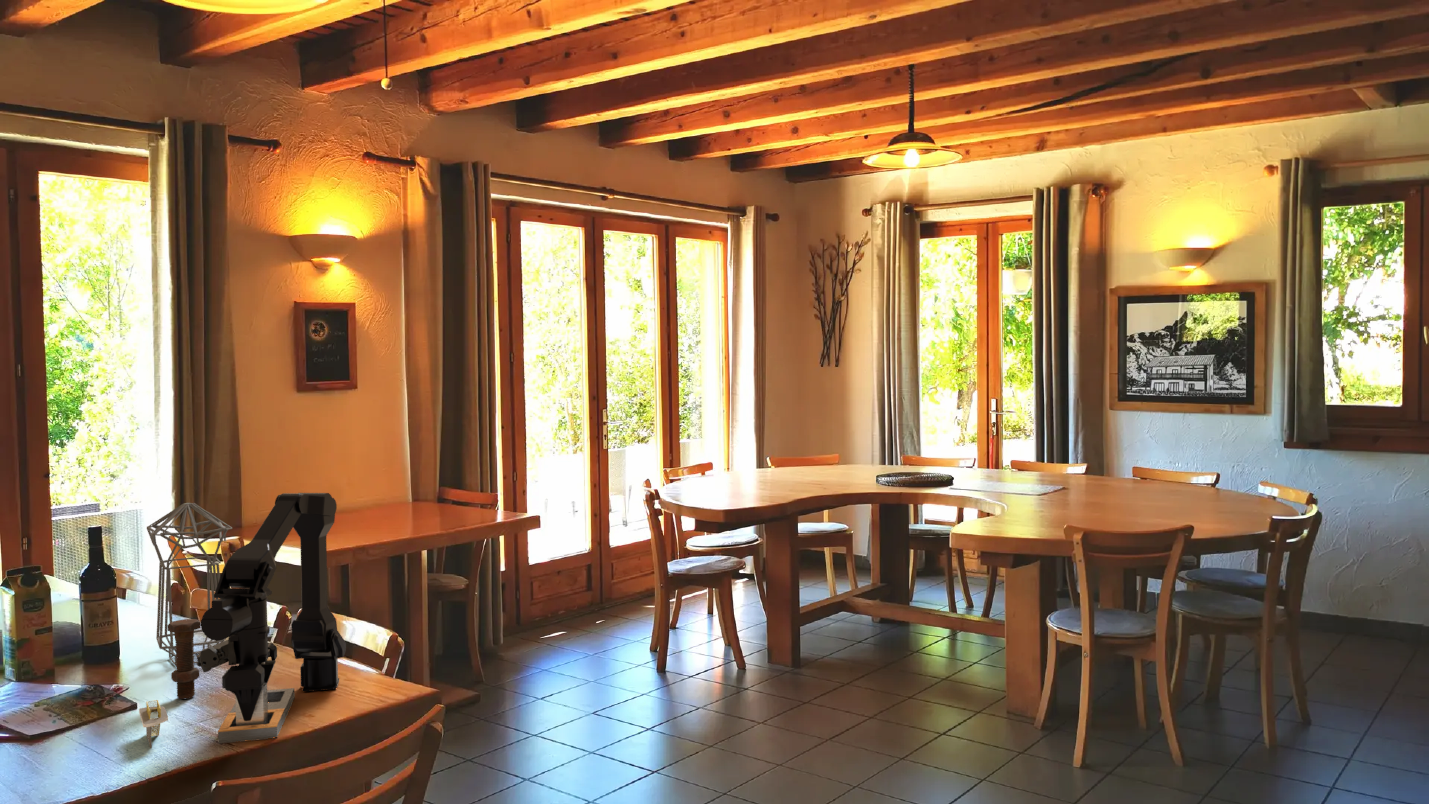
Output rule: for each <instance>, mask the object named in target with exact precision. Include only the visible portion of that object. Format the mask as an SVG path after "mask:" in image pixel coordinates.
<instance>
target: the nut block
mask: <svg viewBox="0 0 1429 804" xmlns="http://www.w3.org/2000/svg"><path fill="white" fill-rule="evenodd" d="M267 690H268V683H264V685H263V688H262V690H261V693H260V696H259V699H258V702H257V704H256V707H255V710H254V713H253V716H252V719H251V720H250V721H244V719H243V716H242V713H241V710H240V707H239V704H238V701H237V698H236V695H235V694H234V697H235V698H234V699H235V703H236V727H237V726H248V725H259V724H268V703H267Z"/></svg>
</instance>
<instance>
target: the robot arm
mask: <svg viewBox="0 0 1429 804" xmlns="http://www.w3.org/2000/svg"><path fill="white" fill-rule="evenodd" d="M337 506H338V504H337V501H336V499H335V498H334V497H332V494H331V493H329V492H298V493H297V492H295V493H293V492H292V493H291V492H287V493H286V492H285V493H281V494H278V495H277V496H276V498H275V501H274V505H273V507H272V509H271V510H270V511H269V513H268V515H267V516H266V518H265V519H264V520H263V522H262V524H261V525H260V527H259V528H258V530H257V531H256V533H255V534H254V536H253V537H252V539H251V540H250V541H249V543H246V544H245V545H243V546H241V547H239V548H237V549H236V550H235V551H234V552H233V554H232V555H231V556H230V557H229V558H228V559H227V561H226V563H225V564H224V566H223V568H222V572H221V573H220V580H219V582H218V581H217V588H216V591H215V590H214V598H215V600H212V599H211V607H210V609H208V608H207V610H206V611H205V612H204V613H203V615H202V618H201V620H200V630H201V629H202V631H203V632H202V633H203V634H204V635H205V637H206V636H207V637H208V638H207V639H210V640H212V641H220V640H223V639H225V638H226V639H227V640H226V639H225V640H224V641H223V642H221V643H220V642H219V643H218V644H217V643H215V644H212V646H209V647H208V648H207V647H205V649H203V648H202V650H200V651H201V652H200V653H199V654H196V659H197V661H198V663H196V665H197V667H200V668H201V670H202V672H203V673H207V672H210V671H211V670H212V669H214V668H216V667H219V666H221V665H223V664H226V663H228V666H230V667H229V668H228V669H227V670H226V671H225V672H224V673H223V676H222V678H221V682H222V685H221V687H222V689H225V691H226V692H230V693H232V694H233V695H234V696H235V695H236V698H237V701H238V704H239V707H240V710H241V713H242V716H243V719H244V721H250V720H251V719H252V716H253V713H254V710H255V707H256V704H257V702H258V699H259V696H260V693H261V690H262V688H263V685H264V683H267V684H268V682H269V680H270V677H271V675H272V672H273V670H274V667H275V664H276V659H277V657H278V647H277V645H275V644H274V642H269V639H268V638H269V634H270V626H268V601H267V600H268V599H267V597H268V596H271V595H272V594H273V591H272V590H271V589H270V588H269V584H270V583H271V581H272V579H273V577H274V575H275V572H276V569H277V565H276V564H277V563H276V556H277V554H278V553H279V551H280V549H281V547H282V546H283V545H284V543H285V541H286V540H287V538H288V537H289V535H290V533H291V531H292V529H293V530H294V531H295V533H296V534H297V535H298V537H299V540H300V542H299V543H300V574H301V575H300V582H301V583H300V586H301V587H300V588H301V591H300V592H301V595H300V597H301V609H300V610H301V611H300V612H299V613H298V615H297V617H296V618H295V619H293V620H292V622H291V625H290V626H291V639H290V641H291V642H290V643H291V645H292V650H293V655H294V659H296V660H299V659H301V660H302V659H303V660H302V661H303V662H302V663H301V666H300V687H301V690H302V691H308V692H316V691H315V690H320V691H330V690H329V689H333V690H336V688H337V689H338V686H339V684H340V683H339V682H340V677H339V664H338V663H339V662H338V659H341V658H344V657H345V654H346V651H347V642H346V641H345V639H344V638H343V636H342V635H341V633H340V632H339V630H338V625H337V624H338V623H337V618H336V617H335V615H334V614H333V612H332V610H331V609H330V608H329V606H328V602H329V601H328V561H327V560H328V557H327V552H328V551H327V536H328V534H329V532H330V531H331V529H332V527H333V525H334V524H335V521H336V520H335V519H336V513H337ZM216 598H218V599H216ZM269 658H270V660H269ZM313 690H314V691H313ZM236 698H235V699H236Z"/></svg>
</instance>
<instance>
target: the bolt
mask: <svg viewBox="0 0 1429 804" xmlns="http://www.w3.org/2000/svg"><path fill="white" fill-rule="evenodd" d="M200 629H201V620H199V619H196V618H185V619H183V618H182V619H178V620H172V622H171V623H170V622H169V623H168V625H167V632H169V633H170V632H173V633H175V636H174V639H175V640H174V642H175V645H174V646H176V652H175V654H176V658H177V659H176V660H177V661H176V665H177V666H175V668H176V669H175V670H173V671H172V672H171V674H170V675H171V676H170V677H171V680H172V682H174V683H176V694H177V695H176V697H177V698H178V699H179V700H185V699H187V700H188V699H192V698H194V696H195V695H196V692H195V691H196V690H195V689H196V688H195V686H196V685H195V680H198V678H199V677H200V670H199V668H198V667H196V666H195V664H194V662H195V654H194V653H193V652H195V648H194V647H195V646H193V645H194V643H195V642H194V641H195V640H194V637H195V633H194V630H200Z"/></svg>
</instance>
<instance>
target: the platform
mask: <svg viewBox="0 0 1429 804" xmlns="http://www.w3.org/2000/svg"><path fill="white" fill-rule="evenodd" d="M150 703H152V700H149V701H146V703H145V704H146V707H140V708H139V709H138V713H139V716H140V720H141V723H142V724H141V725H142V726H143V728H145V730H146V731H145V732H146V737H147V741H148V745H149V748H150V749H152V745H153V744H152V737H154V736H155V737H158V736H159V735H160V731H161V725H162V723H165V722H168V721H169V716H168V712H167V710H166V707H164V706H163V705H162V706H161V705H160V703H159V700H158V699H156V700H155V699H154V700H153V703H152V706H150ZM152 713H157V717H154V718H152V717H151V715H152Z"/></svg>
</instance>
